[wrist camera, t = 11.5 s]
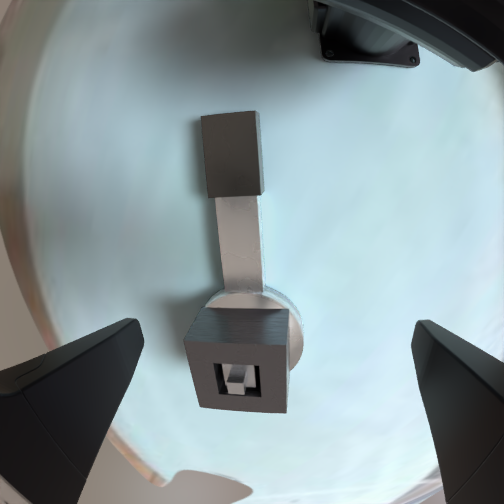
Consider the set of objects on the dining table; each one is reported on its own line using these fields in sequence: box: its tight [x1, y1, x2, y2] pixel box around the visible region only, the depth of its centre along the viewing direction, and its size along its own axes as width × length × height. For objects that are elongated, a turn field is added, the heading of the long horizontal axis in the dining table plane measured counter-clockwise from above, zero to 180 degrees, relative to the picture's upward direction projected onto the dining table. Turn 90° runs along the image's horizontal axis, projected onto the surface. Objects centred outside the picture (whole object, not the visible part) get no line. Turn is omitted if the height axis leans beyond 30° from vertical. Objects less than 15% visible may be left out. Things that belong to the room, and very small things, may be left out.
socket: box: [184, 307, 290, 413], centre depth 20 cm, size 6×6×4 cm
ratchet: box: [201, 111, 304, 395], centre depth 18 cm, size 8×20×6 cm, turn 4°
